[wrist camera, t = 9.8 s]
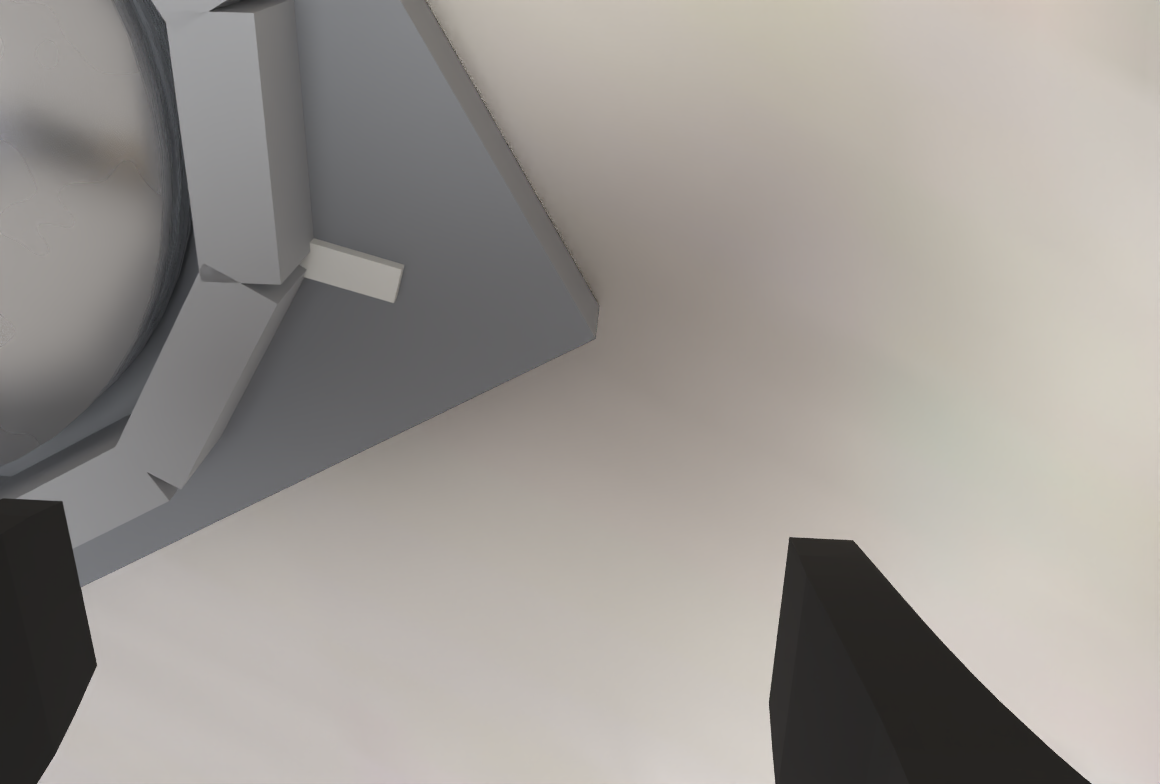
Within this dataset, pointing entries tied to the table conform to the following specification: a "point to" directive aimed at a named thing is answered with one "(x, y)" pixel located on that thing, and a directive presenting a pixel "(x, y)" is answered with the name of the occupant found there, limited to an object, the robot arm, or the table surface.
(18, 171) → the dial
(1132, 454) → the table surface
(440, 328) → the dial plate
